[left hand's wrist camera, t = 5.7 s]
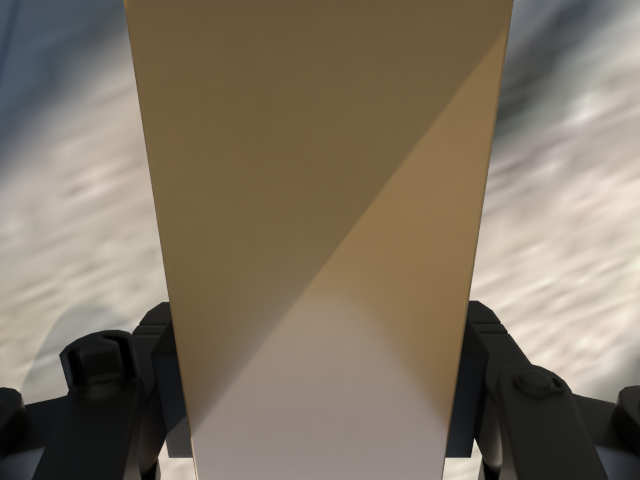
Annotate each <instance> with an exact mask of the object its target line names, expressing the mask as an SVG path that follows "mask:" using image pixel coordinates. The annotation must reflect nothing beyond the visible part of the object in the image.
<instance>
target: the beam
mask: <svg viewBox="0 0 640 480" xmlns="http://www.w3.org/2000/svg"><path fill="white" fill-rule="evenodd" d="M513 1H514V0H124V5H125V12H126V18H127V25H128V32H129V38H130V45H131V52H132V58H133V65H134V71H135V78H136V85H137V91H138V98H139V104H140V111H141V118H142V124H143V131H144V137H145V144H146V151H147V157H148V164H149V170H150V177H151V184H152V190H153V197H154V203H155V210H156V217H157V223H158V230H159V236H160V243H161V250H162V256H163V263H164V269H165V276H166V283H167V289H168V296H169V302H170V309H171V316H172V322H173V329H174V335H175V342H176V349H177V355H178V362H179V368H180V375H181V382H182V388H183V395H184V401H185V408H186V415H187V421H188V428H189V434H190V441H191V448H192V454H193V461H194V467H195V474H196V480H442V477H443V471H444V464H445V457H446V451H447V444H448V437H449V430H450V424H451V417H452V410H453V404H454V397H455V390H456V384H457V377H458V370H459V363H460V357H461V350H462V343H463V337H464V330H465V323H466V316H467V310H468V303H469V296H470V290H471V283H472V276H473V269H474V263H475V256H476V249H477V243H478V236H479V229H480V223H481V216H482V209H483V202H484V196H485V189H486V182H487V176H488V169H489V162H490V155H491V149H492V142H493V135H494V129H495V122H496V115H497V108H498V102H499V95H500V88H501V82H502V75H503V68H504V62H505V55H506V48H507V41H508V35H509V28H510V21H511V15H512V8H513Z"/></svg>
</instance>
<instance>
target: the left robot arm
mask: <svg viewBox="0 0 640 480" xmlns="http://www.w3.org/2000/svg"><path fill="white" fill-rule="evenodd" d="M59 356H60V360H61V364H62V367H63V371H64V374H65V378H66V382H67V385H68V389H69V392H68V394H67V396H63V397H59V398H56V399H51V400H46V401H42V402H37V403H32V404H28V405H24V402H23V399H22V396H21V394H20V393H19V392H18V391H17V390H15V389H12V388H5V387H2V388H0V480H160V477H161V472H160V466H159V460H158V456H159V453H160V451H161V449H162V446H163V444H164V441H165V439H166V444H167V450H168V455H169V458H193V454H192V448H191V441H190V434H189V428H188V421H187V415H186V408H185V401H184V395H183V388H182V382H181V375H180V368H179V362H178V355H177V349H176V342H175V335H174V329H173V322H172V316H171V309H170V302H162V303H160V304H159V305H157V306H156V307H154V308H153V309H151V310H150V311H148V312H147V313H146V315H145V316H144V318H143V319H142V320H141V322H140V323H139V326H137V327H136V329H135V330H134V331H133V333H132V335H131V334H130V333H129V332H126V331H121V330H104V331H100V332H95V333H91V334H89V335H86V336H84V337H81V338H79V339H77V340H75V341H74V342H72V343H71V344H69V345H68V346H66V347H65V349H64V350H63V351H62V352H61V353H60V355H59ZM474 438H475V440H476V442H477V445H478V447H479V449H480V452H481V454H482V460H481V466H480V471H479V476H478V480H640V386H638V385H637V386H630V387H625V388H624V389H623V390H621V391H620V392H619V395H618V398H617V401H616V403H611V402H607V401H602V400H597V399H593V398H588V397H583V396H580V395H576V394H573V393H572V391H571V389H570V388H569V386H568V385H567V384H566V382H565V381H564V380H563V379H561V378H560V377H559V376H557V375H556V374H555V373H553V372H551V371H549V370H547V369H545V368H543V367H540V366H536V365H532V364H531V363H530V361H529V360H528V359H527V357H526V356H525V355H524V353H523V352H522V350H521V349H520V348H519V346H518V345H517V344H516V342H515V341H514V339H513V338H512V337H511V335H510V334H508V331H507V330H506V329H505V327H504V326H503V324H501V322H500V320H499V319H498V318H497V316H496V315H495V313H494V312H493V311H492V310H491V309H489V308H488V307H486V306H485V305H483V304H482V303H480V302H479V301H469V303H468V310H467V316H466V323H465V330H464V337H463V343H462V350H461V357H460V363H459V370H458V377H457V384H456V390H455V397H454V404H453V410H452V417H451V424H450V430H449V437H448V444H447V451H446V457H445V458H471V454H472V448H473V443H474Z"/></svg>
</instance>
